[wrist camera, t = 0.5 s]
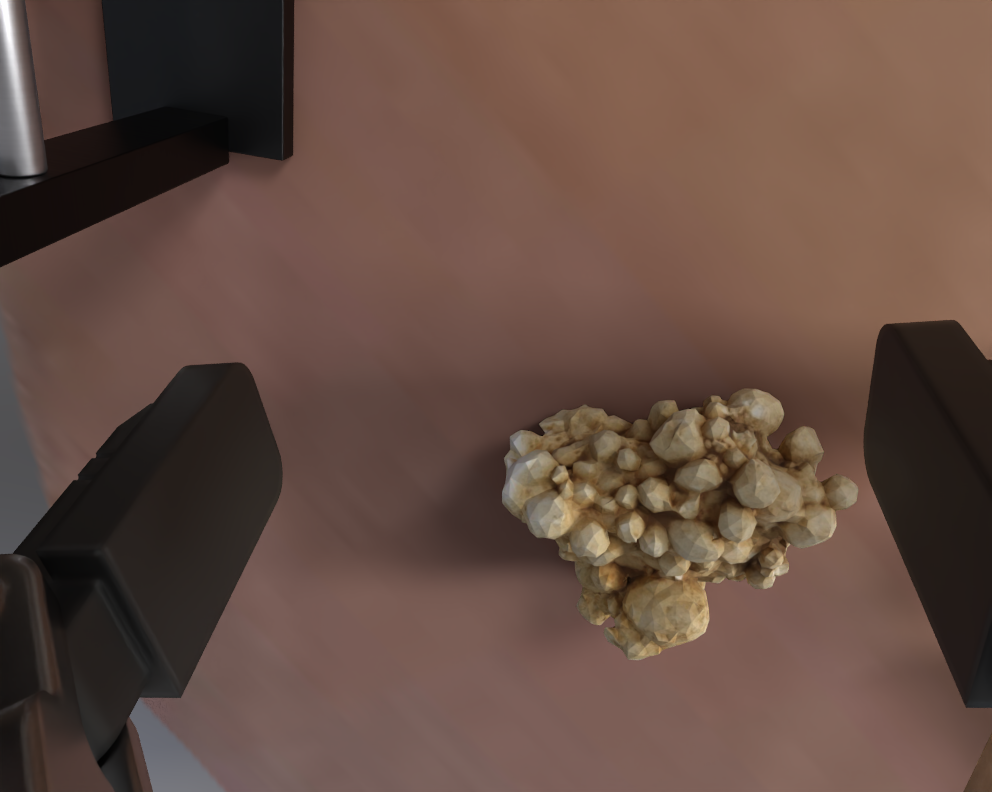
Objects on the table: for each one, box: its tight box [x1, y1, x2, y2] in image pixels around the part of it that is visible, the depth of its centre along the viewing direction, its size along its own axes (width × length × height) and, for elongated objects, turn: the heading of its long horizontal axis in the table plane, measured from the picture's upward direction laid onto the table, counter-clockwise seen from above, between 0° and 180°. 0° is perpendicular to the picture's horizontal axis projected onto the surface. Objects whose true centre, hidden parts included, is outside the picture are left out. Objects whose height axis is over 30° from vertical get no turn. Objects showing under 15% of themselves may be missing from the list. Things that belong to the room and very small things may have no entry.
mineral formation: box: [502, 389, 858, 660], centre depth 38 cm, size 8×13×15 cm
